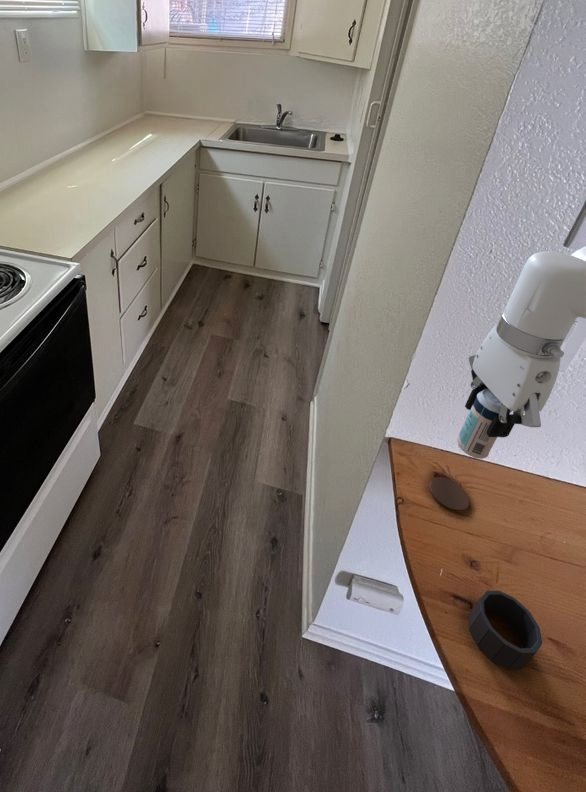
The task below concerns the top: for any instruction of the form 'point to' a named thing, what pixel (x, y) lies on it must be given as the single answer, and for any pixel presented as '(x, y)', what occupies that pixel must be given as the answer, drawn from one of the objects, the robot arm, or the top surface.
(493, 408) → the beer can
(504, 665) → the ring
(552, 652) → the top surface
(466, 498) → the coaster
